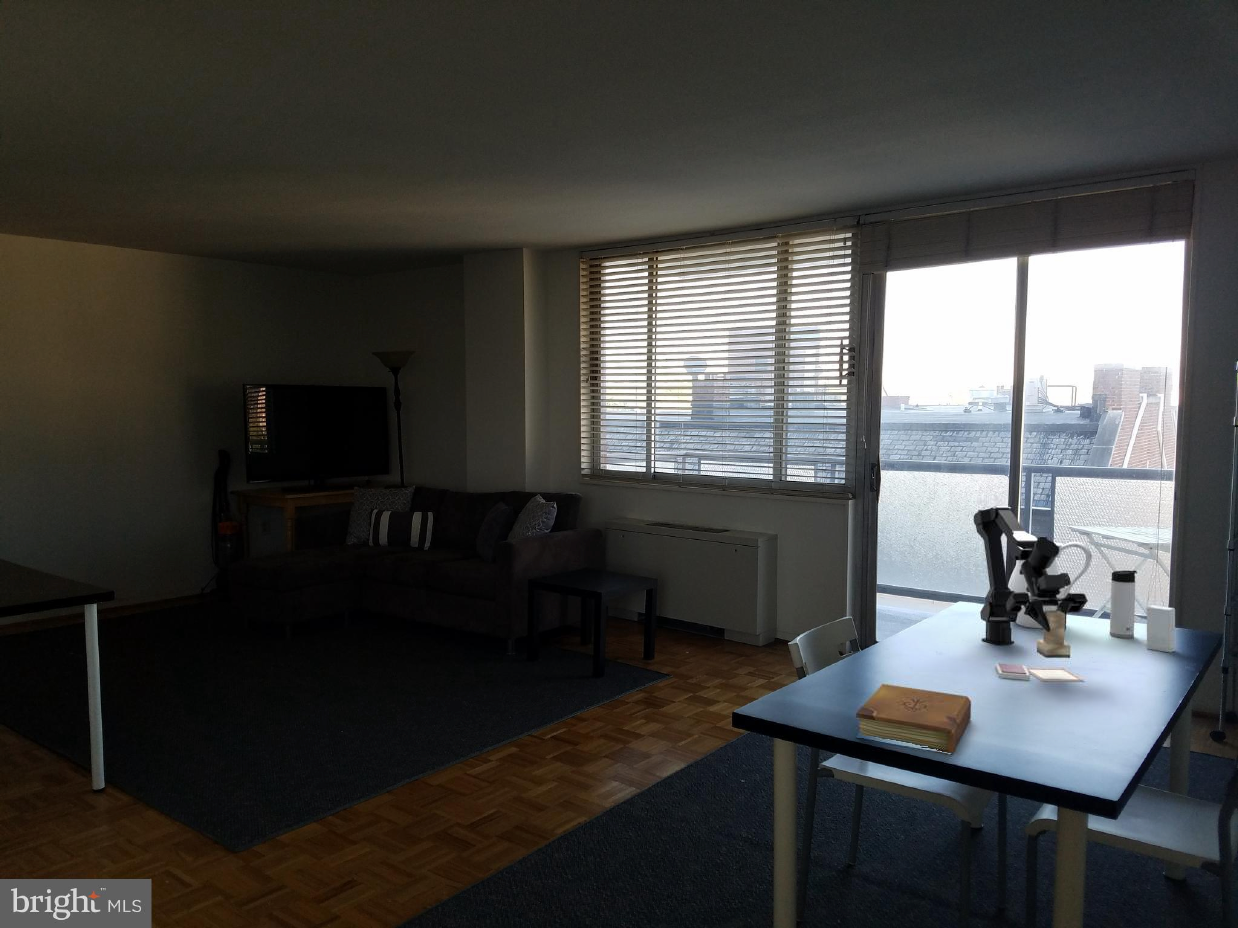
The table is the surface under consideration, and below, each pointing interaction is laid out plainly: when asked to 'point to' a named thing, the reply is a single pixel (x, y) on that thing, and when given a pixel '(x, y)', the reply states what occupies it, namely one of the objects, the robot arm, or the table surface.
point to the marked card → (1053, 674)
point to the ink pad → (1012, 671)
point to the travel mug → (1122, 604)
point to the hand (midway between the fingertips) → (1056, 630)
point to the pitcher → (1019, 582)
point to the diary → (916, 717)
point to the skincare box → (1161, 628)
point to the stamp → (1054, 637)
